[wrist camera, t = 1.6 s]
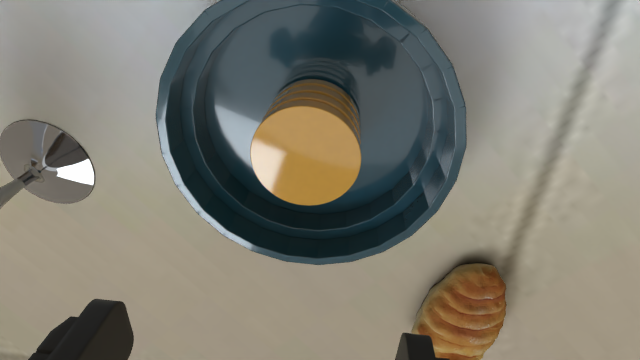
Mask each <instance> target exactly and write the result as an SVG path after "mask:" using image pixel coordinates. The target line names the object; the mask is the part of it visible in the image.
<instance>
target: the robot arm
mask: <svg viewBox="0 0 640 360" xmlns="http://www.w3.org/2000/svg"><path fill="white" fill-rule="evenodd" d="M133 341H134V336H133V332H132V328H131V324H130V321H129V317H128V314H127V310H126V307H125V304H124V303H123V302H121V301H111V300H102V299H94V300H92V301H91V302H90V303H89V304H88V305H87V306H86V308H85V309H84V310H83V312H82V313H81V314H80V316H79V317H69V318H68V319H67V320H65V321H64V322H63V323H61V324H60V325H59V326H57V327H56V328H55V329H53V330H52V331H51V332H50V333H49V335H48V336H47V337H46V338H45V340H44V341H43V342H42V343H41V344H40V346H39V347H38V348H37V351H36V353H33V354H32V356H31V357H30V358H29V359H28V360H128V358H129V356H130V353H131V350H132V347H133ZM395 360H450V359H447V358H438V357H435V352H434V347H433V342H432V339H431V337H430V336H429V335H420V334H410V333H403V334H402V336H401V339H400V343H399V347H398V351H397V354H396V358H395Z"/></svg>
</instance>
